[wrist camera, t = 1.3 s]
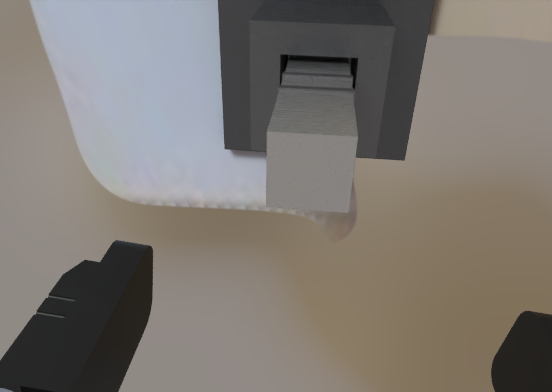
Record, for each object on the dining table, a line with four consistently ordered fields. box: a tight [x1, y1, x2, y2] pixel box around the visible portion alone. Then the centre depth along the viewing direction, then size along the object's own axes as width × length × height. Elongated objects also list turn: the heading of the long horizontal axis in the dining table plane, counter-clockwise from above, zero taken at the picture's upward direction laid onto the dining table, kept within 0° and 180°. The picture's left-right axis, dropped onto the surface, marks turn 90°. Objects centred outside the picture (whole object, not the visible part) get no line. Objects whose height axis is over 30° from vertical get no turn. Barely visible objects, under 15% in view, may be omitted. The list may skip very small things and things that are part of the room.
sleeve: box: [218, 0, 434, 160], centre depth 34 cm, size 16×16×8 cm
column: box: [266, 55, 358, 213], centre depth 29 cm, size 4×4×18 cm
